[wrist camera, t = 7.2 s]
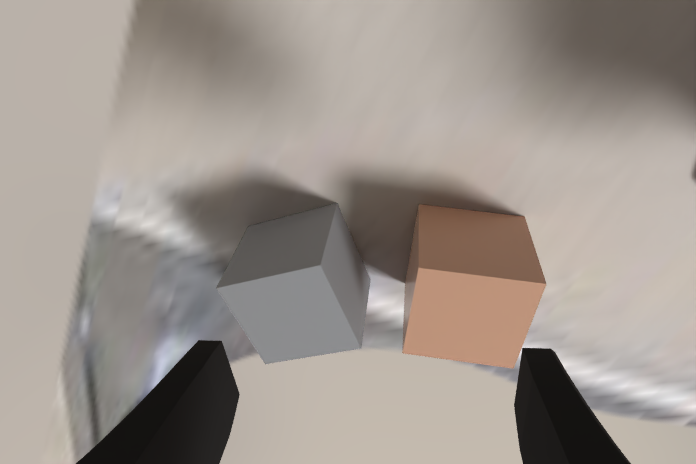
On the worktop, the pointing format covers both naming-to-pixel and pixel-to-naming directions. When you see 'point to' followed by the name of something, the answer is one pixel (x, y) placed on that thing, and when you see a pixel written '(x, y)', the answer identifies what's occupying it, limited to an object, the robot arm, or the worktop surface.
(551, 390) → the robot arm
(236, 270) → the slate grey block
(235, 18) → the worktop surface
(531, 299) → the terracotta block
